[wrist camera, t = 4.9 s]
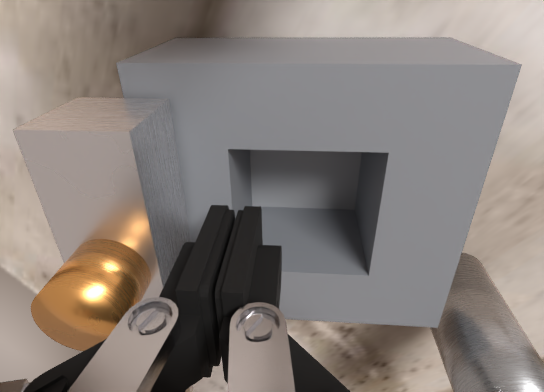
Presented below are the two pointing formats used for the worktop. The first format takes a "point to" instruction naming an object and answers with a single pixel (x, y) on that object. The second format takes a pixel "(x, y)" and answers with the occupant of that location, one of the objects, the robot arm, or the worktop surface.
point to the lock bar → (105, 210)
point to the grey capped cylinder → (484, 337)
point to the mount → (338, 158)
